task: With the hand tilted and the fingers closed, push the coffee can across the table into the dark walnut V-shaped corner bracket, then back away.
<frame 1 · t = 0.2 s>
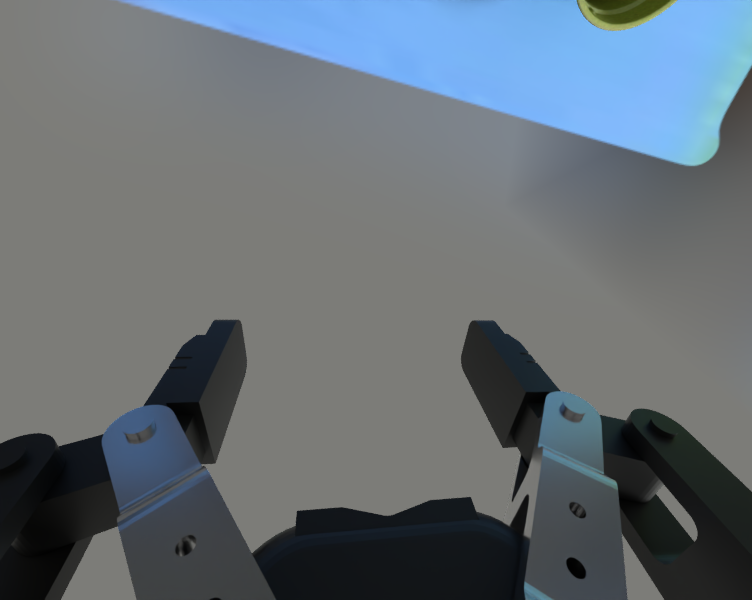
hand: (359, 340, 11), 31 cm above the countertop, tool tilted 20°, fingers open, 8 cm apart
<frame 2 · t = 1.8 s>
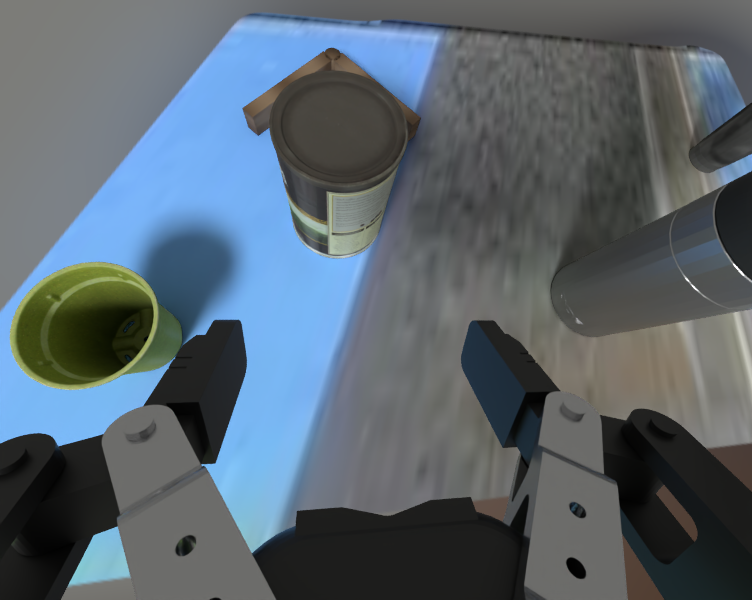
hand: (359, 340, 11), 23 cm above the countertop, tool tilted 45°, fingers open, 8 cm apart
coffee can: (337, 219, 38), on the countertop
plant pot: (151, 339, 32), on the countertop
beverage cup: (701, 160, 48), on the countertop
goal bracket: (334, 124, 41), on the countertop
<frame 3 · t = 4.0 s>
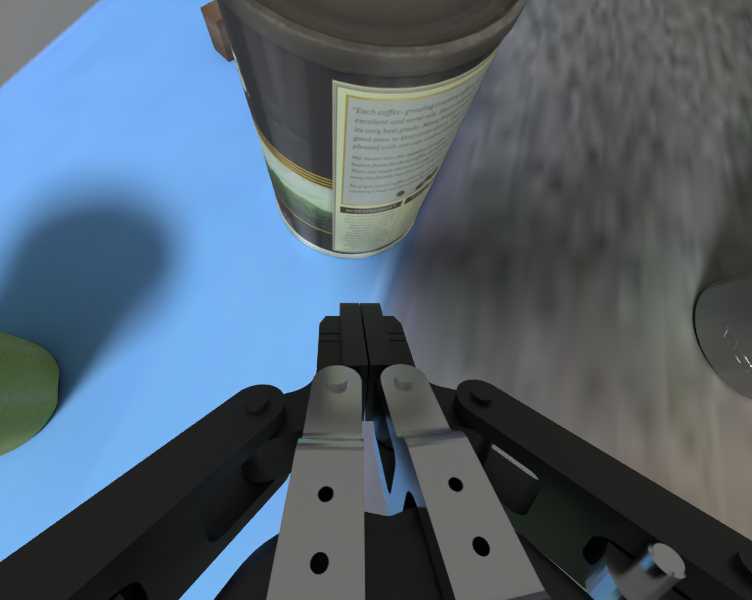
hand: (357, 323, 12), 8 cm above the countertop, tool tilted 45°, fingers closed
coffee can: (350, 195, 23), on the countertop
plant pot: (4, 394, 17), on the countertop
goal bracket: (349, 53, 26), on the countertop
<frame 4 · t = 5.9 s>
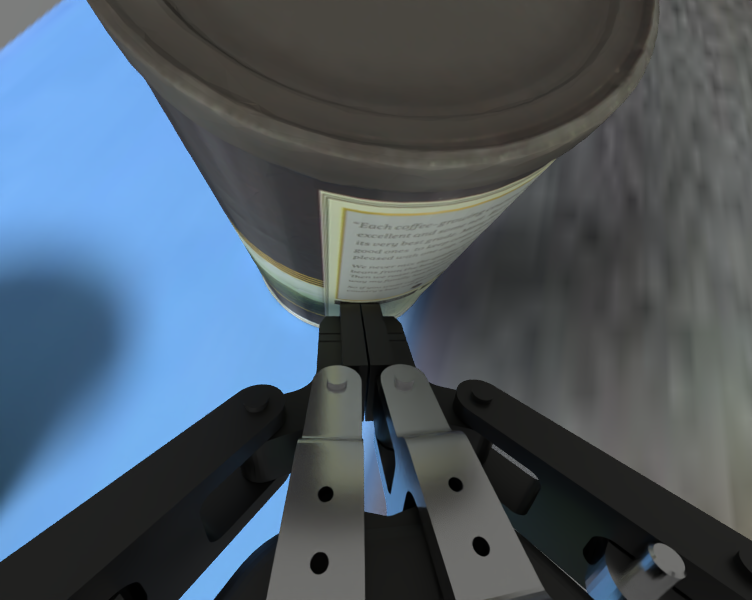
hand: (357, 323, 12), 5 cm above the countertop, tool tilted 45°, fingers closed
coffee can: (348, 249, 19), on the countertop, touching gripper
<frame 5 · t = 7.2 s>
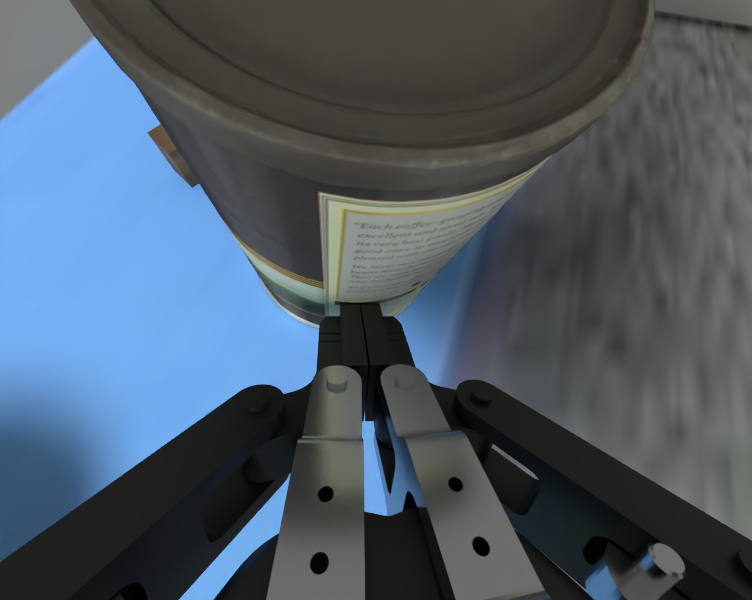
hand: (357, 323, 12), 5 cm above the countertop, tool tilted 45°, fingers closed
coffee can: (345, 249, 19), on the countertop, touching gripper
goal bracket: (352, 167, 20), on the countertop
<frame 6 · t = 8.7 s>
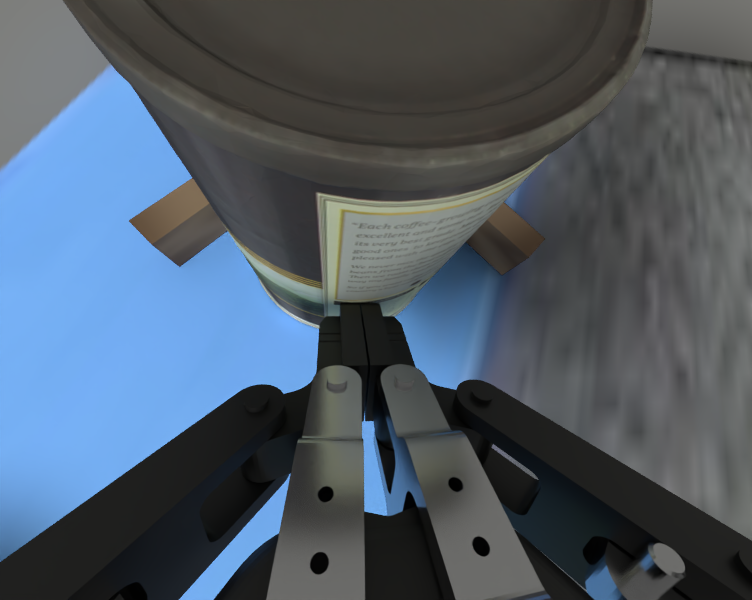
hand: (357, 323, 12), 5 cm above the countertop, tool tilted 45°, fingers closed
coffee can: (344, 248, 19), on the countertop, touching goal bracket, gripper
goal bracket: (351, 237, 19), on the countertop
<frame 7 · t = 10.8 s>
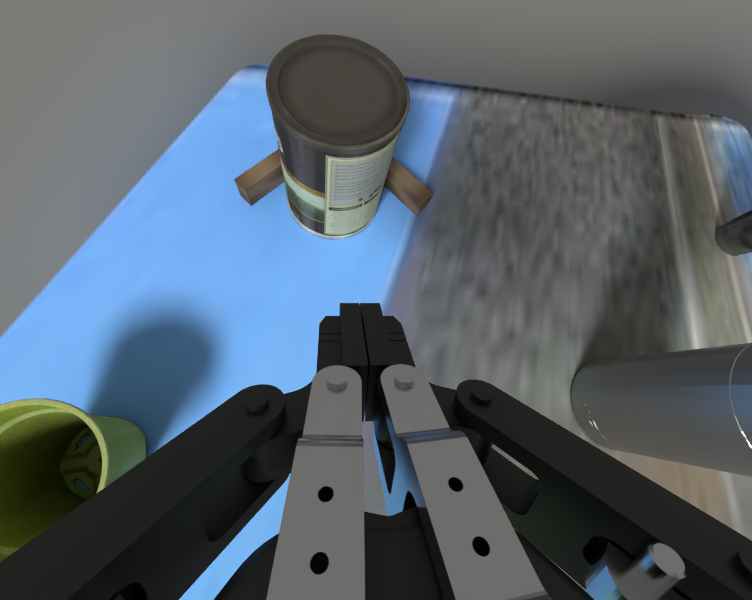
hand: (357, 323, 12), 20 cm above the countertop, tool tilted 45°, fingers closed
coffee can: (333, 200, 37), on the countertop
plant pot: (109, 455, 27), on the countertop
beverage cup: (727, 241, 45), on the countertop
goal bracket: (337, 194, 37), on the countertop
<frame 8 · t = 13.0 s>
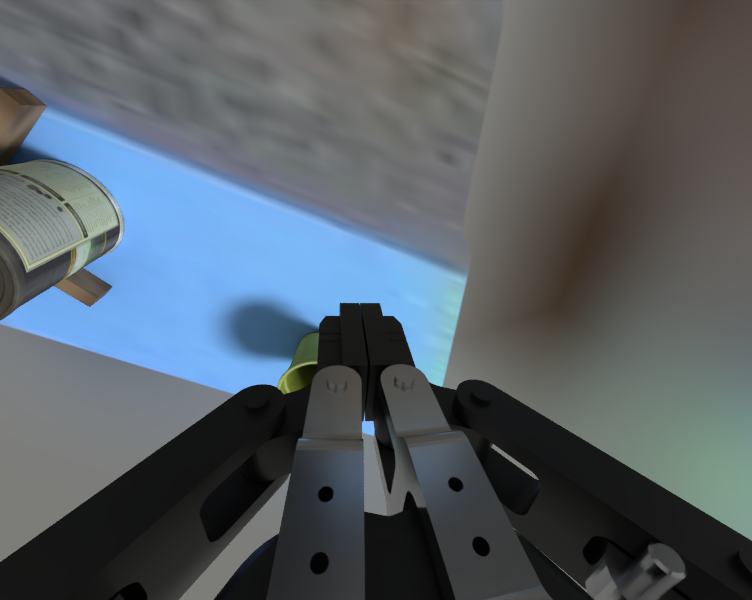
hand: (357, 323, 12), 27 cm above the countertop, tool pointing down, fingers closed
coffee can: (71, 211, 34), on the countertop
plant pot: (319, 347, 46), on the countertop
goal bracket: (61, 207, 33), on the countertop
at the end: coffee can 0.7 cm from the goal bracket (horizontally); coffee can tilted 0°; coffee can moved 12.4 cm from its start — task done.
